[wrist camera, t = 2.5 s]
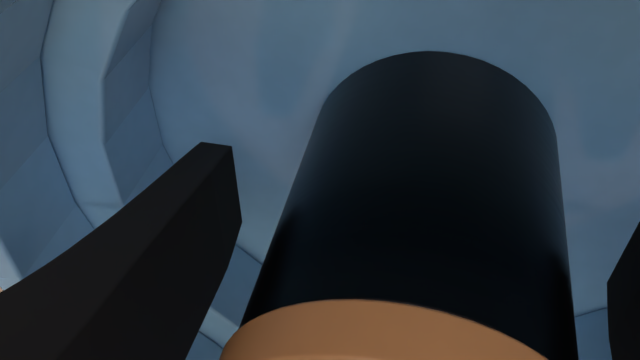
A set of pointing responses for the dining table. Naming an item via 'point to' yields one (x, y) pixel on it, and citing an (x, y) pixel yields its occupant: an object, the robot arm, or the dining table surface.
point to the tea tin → (419, 225)
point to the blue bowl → (290, 115)
